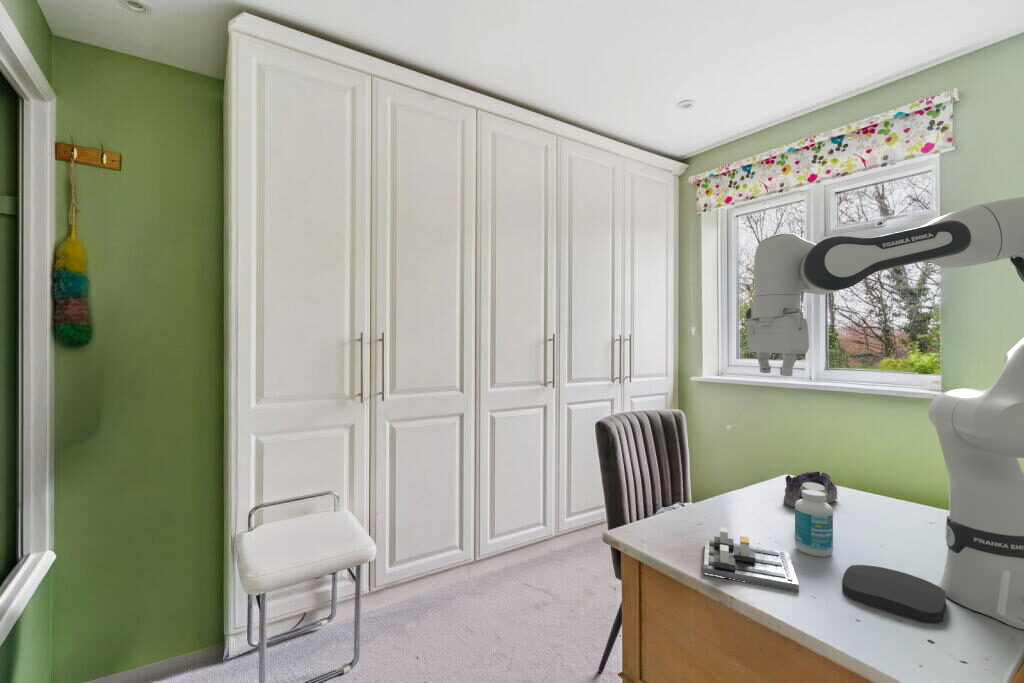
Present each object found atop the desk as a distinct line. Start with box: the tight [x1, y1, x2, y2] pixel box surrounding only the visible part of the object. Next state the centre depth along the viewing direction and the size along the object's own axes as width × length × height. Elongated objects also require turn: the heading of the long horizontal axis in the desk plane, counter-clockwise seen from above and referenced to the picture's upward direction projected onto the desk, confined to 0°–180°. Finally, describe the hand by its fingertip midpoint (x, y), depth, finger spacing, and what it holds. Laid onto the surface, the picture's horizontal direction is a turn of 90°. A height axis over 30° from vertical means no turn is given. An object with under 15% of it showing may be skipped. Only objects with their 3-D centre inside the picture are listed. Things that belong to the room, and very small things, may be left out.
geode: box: [783, 471, 838, 510], centre depth 142 cm, size 20×12×10 cm, turn 126°
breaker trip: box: [734, 535, 756, 563], centre depth 100 cm, size 4×4×4 cm
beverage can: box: [799, 482, 828, 503], centre depth 120 cm, size 6×7×12 cm
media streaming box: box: [841, 564, 947, 625], centre depth 88 cm, size 15×15×3 cm
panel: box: [702, 539, 800, 593], centre depth 100 cm, size 17×16×2 cm
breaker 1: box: [713, 526, 735, 550], centre depth 107 cm, size 4×4×4 cm
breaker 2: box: [714, 544, 735, 570], centre depth 97 cm, size 4×4×4 cm
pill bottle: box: [794, 490, 834, 558], centre depth 108 cm, size 8×7×14 cm
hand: (775, 374), depth 101 cm, fingers open, 8 cm apart
